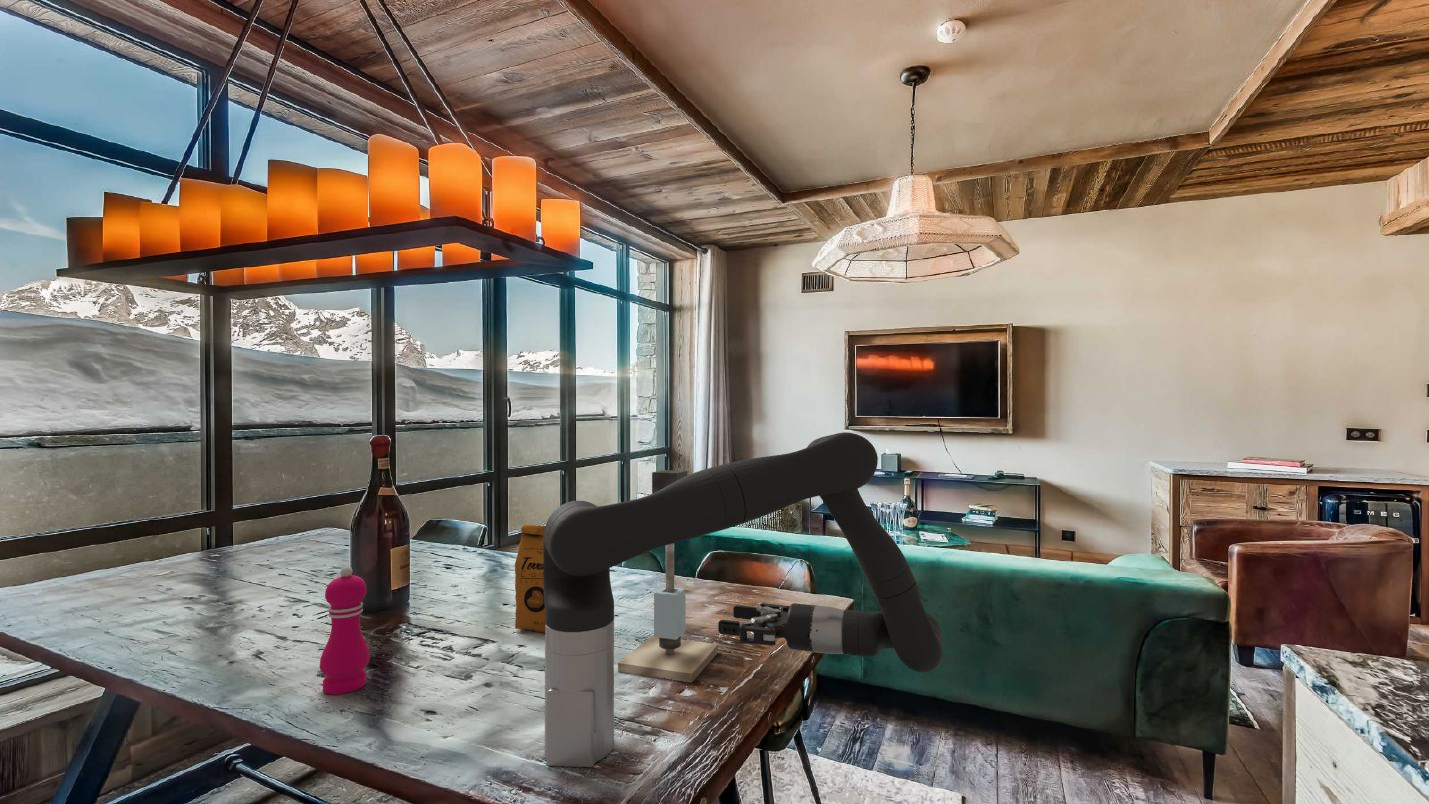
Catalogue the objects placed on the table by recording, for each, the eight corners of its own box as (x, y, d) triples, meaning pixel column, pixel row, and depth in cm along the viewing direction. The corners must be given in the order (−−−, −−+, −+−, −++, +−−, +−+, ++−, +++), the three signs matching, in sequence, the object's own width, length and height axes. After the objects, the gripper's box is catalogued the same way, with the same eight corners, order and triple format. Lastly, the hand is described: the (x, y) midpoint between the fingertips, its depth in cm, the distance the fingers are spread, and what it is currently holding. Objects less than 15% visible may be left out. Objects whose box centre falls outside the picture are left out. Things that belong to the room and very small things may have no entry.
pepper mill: (359, 673, 107) (361, 559, 107) (376, 685, 102) (378, 566, 103) (312, 688, 101) (314, 567, 102) (328, 700, 97) (330, 574, 97)
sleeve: (685, 631, 113) (685, 588, 113) (676, 639, 109) (676, 595, 109) (663, 629, 115) (663, 586, 115) (654, 636, 111) (654, 592, 111)
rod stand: (718, 652, 116) (717, 469, 117) (691, 682, 103) (691, 476, 104) (651, 643, 121) (651, 467, 122) (618, 671, 107) (618, 473, 108)
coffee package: (559, 639, 123) (560, 530, 124) (507, 633, 127) (508, 527, 127) (584, 623, 133) (584, 522, 133) (535, 618, 136) (535, 520, 137)
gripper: (823, 594, 110) (738, 586, 115) (809, 619, 96) (713, 609, 102) (823, 636, 110) (738, 626, 115) (809, 667, 96) (713, 654, 102)
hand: (726, 618), depth 108 cm, fingers open, 8 cm apart
